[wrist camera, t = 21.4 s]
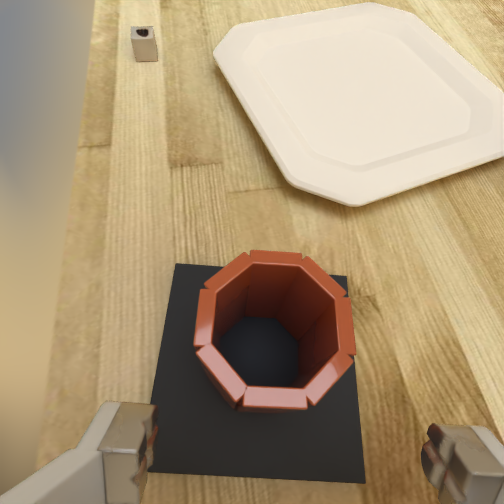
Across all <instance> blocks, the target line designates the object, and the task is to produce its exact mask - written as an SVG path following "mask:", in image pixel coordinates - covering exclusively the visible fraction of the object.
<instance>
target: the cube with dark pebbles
mask: <svg viewBox="0 0 504 504" xmlns="http://www.w3.org/2000/svg"><path fill="white" fill-rule="evenodd" d="M131 42H132V46H133V50H134V54H135V58H136V62H141V61H158V57H157V45H156V40H155V35H154V30H153V26H149V27H131Z"/></svg>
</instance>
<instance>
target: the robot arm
mask: <svg viewBox="0 0 504 504" xmlns="http://www.w3.org/2000/svg"><path fill="white" fill-rule="evenodd" d="M158 416H159V415H158V406H157V405H152V404H141V403H131V402H115V401H105V402H104V403H103V404H102V405H101V406H100V408H99V410H98V411H97V413H96V415H95V416H94V418H93V420H92V421H91V423H90V425H89V426H88V428H87V430H86V431H85V433H84V435H83V436H82V438H81V440H80V441H79V443H78V445H77V446H76V448H75V449H68V450H67V451H65V452H64V453H62V454H61V455H60V456H58V457H57V458H55V459H54V460H52V461H51V462H49V463H48V464H46V465H45V466H44V467H42V468H41V469H39V470H38V471H36V472H35V473H33V474H32V475H30V476H29V477H27V478H26V479H25V480H23V481H22V482H20V483H19V484H17V485H16V486H14V487H13V488H11V489H10V490H9V491H7V492H6V493H4V494H3V495H1V496H0V504H140V501H141V498H142V495H143V492H144V489H145V486H146V483H147V469H148V468H149V467H150V466H151V465H152V464H153V460H154V457H155V454H156V449H157V444H158V435H159V428H158V426H157V425H156V421H157V419H158ZM427 435H428V437H429V439H430V440H429V441H428V442H426V443H425V444H424V445H423V447H422V451H421V462H422V467H423V470H424V473H425V475H426V477H427V479H428V481H429V482H430V483H431V484H432V485H433V486H434V487H436V488H437V489H438V490H439V493H438V499H439V501H440V503H441V504H504V446H503V445H502V444H501V443H500V442H499V441H498V440H497V438H496V437H495V436H494V435H493V434H492V433H491V431H490V430H489V429H487V428H486V427H484V426H473V425H453V424H435V423H432V424H431V425H430V426H429V428H428V431H427Z"/></svg>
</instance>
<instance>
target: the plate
mask: <svg viewBox="0 0 504 504" xmlns="http://www.w3.org/2000/svg"><path fill="white" fill-rule="evenodd" d="M213 58H214V60H215V62H216V63H217V65H218V67H219V68H220V70H221V72H222V73H223V75H224V77H225V78H226V80H227V82H228V83H229V85H230V87H231V88H232V90H233V92H234V93H235V95H236V97H237V99H238V100H239V102H240V104H241V105H242V107H243V109H244V110H245V112H246V114H247V115H248V117H249V119H250V120H251V122H252V124H253V125H254V127H255V129H256V131H257V132H258V134H259V136H260V137H261V139H262V141H263V142H264V144H265V146H266V147H267V149H268V151H269V152H270V154H271V156H272V158H273V159H274V161H275V163H276V164H277V166H278V168H279V169H280V171H281V173H282V174H283V176H284V178H285V179H286V181H287V182H288V183H289V184H291V185H292V186H293V187H294V188H297V189H300V190H303V191H306V192H309V193H312V194H314V195H317V196H320V197H323V198H326V199H329V200H331V201H334V202H337V203H340V204H343V205H346V206H349V207H360V206H363V205H366V204H369V203H372V202H375V201H378V200H381V199H383V198H386V197H389V196H392V195H395V194H398V193H401V192H404V191H407V190H409V189H412V188H415V187H418V186H421V185H424V184H427V183H430V182H432V181H435V180H438V179H441V178H444V177H447V176H450V175H453V174H456V173H458V172H461V171H464V170H467V169H470V168H473V167H476V166H479V165H482V164H485V163H487V162H490V161H493V160H496V159H499V158H502V157H504V92H502V91H501V90H500V89H499V88H498V87H497V86H496V85H494V84H493V83H492V82H491V81H490V80H489V79H488V78H486V77H485V76H484V75H483V74H482V73H481V72H480V71H478V70H477V69H476V68H475V67H474V66H473V65H472V64H471V63H469V62H468V61H467V60H466V59H465V58H464V57H463V56H461V55H460V54H459V53H458V52H457V51H456V50H455V49H453V48H452V47H451V46H450V45H449V44H448V43H447V42H445V41H444V40H443V39H442V38H441V37H440V36H439V35H438V34H436V33H435V32H434V31H433V30H432V29H431V28H430V27H428V26H427V25H426V24H425V23H424V22H423V21H422V20H420V19H419V18H418V17H417V16H416V15H414V14H412V13H411V12H407V11H404V10H400V9H396V8H392V7H389V6H385V5H381V4H378V3H374V2H366V3H360V4H354V5H348V6H342V7H336V8H330V9H325V10H319V11H313V12H307V13H301V14H295V15H289V16H283V17H277V18H271V19H265V20H260V21H254V22H248V23H242V24H238V25H236V26H234V27H232V28H231V29H230V30H229V32H228V33H227V34H226V35H225V36H224V38H223V39H222V40H221V41H220V43H219V44H218V45H217V46H216V48H215V49H214V50H213Z"/></svg>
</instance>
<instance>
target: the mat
mask: <svg viewBox="0 0 504 504" xmlns="http://www.w3.org/2000/svg"><path fill="white" fill-rule="evenodd" d="M223 268H224V267H219V266H205V265H192V264H178V263H176V265H175V270H174V276H173V281H172V287H171V292H170V298H169V303H168V309H167V314H166V320H165V325H164V331H163V336H162V342H161V347H160V353H159V358H158V364H157V369H156V375H155V380H154V386H153V391H152V397H151V402H150V404H152V405H157V406H158V415H159V416H158V419H157V421H156V425H157V426H158V428H159V435H158V444H157V449H156V454H155V457H154V460H153V464H152V465H151V466H150V467H149V468H148V469H147V472H157V473H176V474H195V475H214V476H232V477H251V478H270V479H288V480H307V481H326V482H345V483H363V484H365V483H366V481H365V470H364V459H363V448H362V437H361V427H360V416H359V405H358V394H357V384H356V373H355V362H353V364H352V365H351V366H350V367H349V368H348V369H347V371H346V372H345V373H344V374H343V375H342V376H341V377H340V378H339V380H338V381H337V382H336V383H335V384H334V385H333V386H332V388H331V389H330V390H329V391H328V392H327V393H326V394H325V395H324V397H323V398H322V399H321V400H320V401H319V402H318V403H317V404H316V406H312V407H308V409H307V410H300V411H292V412H283V413H258V412H238V411H237V406H236V407H235V408H234V409H232V407H231V406H230V405H229V404H228V402H227V401H226V400H225V399H224V397H223V396H222V395H221V394H220V392H219V391H218V390H217V389H216V387H215V386H214V385H213V384H212V382H211V381H210V380H209V379H208V377H207V375H206V373H205V371H204V369H203V367H202V365H201V363H200V361H199V359H198V357H197V355H196V350H195V348H194V345H193V343H194V334H195V326H196V318H197V310H198V302H199V294H200V290H201V289H205V287H204V283H205V282H206V281H207V280H209V279H210V278H211V277H212V276H214V275H215V274H216V273H218V272H219V271H220V270H221V269H223ZM329 276H330V277H331V278H332V279H333V280H335V281H336V282H337V283H338V284H339V285H340V286H341V287H342V288H343V289H344V290H345V291H346V294H345V296H344V297H347V298H348V287H347V276H340V275H329ZM220 353H221V354H222V355H223V357H224V358H225V359H226V360H227V361H228V363H229V364H230V365H231V366H232V367H233V368H234V370H235V371H236V372H237V373H238V374H239V376H240V377H241V378H242V379H243V380H244V382H245V383H246V384H247V385H252V386H272V387H288V386H289V385H290V383H291V382H292V381H293V380H294V379H295V378H296V377H297V376H298V341H297V340H296V339H295V338H294V337H293V336H292V335H291V334H290V333H289V332H288V331H287V330H286V329H285V328H284V327H283V325H282V324H281V323H280V322H279V321H278V320H277V319H276V318H264V317H247V316H245V317H244V318H242V319H241V320H240V321H239V322H238V323H237V324H236V325H234V326H233V327H232V328H231V329H230V330H229V331H228V332H226V333H225V334H224V335H223V336H222V337H221V345H220ZM351 358H352V359H353V361H354V356H352V357H351Z"/></svg>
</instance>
